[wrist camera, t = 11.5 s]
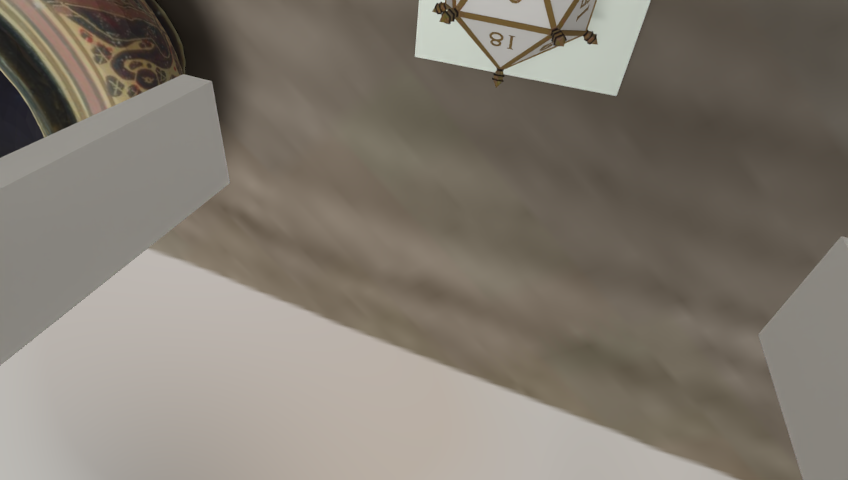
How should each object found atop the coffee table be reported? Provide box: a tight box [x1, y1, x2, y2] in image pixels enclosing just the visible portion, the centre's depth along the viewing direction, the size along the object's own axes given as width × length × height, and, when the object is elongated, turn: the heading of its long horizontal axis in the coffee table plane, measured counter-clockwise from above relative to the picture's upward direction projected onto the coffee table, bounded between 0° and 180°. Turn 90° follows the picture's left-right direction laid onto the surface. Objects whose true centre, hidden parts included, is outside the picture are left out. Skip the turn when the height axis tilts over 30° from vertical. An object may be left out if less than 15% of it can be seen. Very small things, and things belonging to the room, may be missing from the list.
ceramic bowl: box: [0, 0, 186, 158], centre depth 30 cm, size 24×18×15 cm
